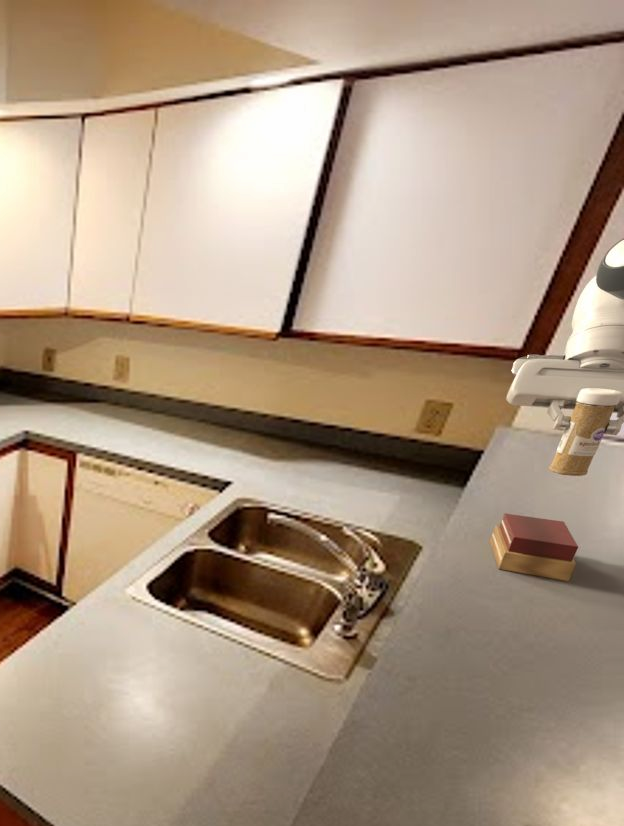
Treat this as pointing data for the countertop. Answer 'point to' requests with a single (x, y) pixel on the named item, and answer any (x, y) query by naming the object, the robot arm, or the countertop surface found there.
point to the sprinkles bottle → (584, 431)
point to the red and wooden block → (534, 547)
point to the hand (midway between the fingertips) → (585, 430)
